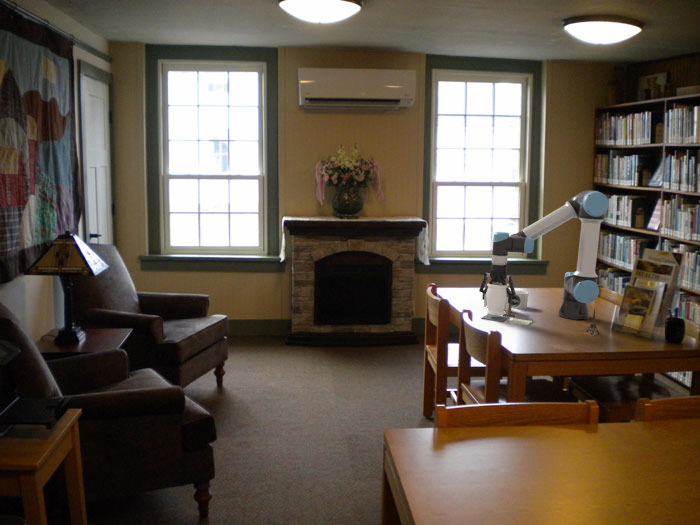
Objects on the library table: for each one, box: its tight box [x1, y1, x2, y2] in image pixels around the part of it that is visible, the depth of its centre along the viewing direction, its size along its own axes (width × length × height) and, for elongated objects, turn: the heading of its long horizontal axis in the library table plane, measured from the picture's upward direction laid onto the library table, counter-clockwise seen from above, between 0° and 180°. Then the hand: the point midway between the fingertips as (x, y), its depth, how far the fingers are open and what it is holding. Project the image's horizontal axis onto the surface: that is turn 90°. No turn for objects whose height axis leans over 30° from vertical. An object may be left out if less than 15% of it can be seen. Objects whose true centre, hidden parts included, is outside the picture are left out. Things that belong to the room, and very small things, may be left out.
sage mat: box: [508, 317, 533, 326], centre depth 345 cm, size 9×9×1 cm
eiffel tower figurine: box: [584, 307, 600, 334], centre depth 328 cm, size 15×10×13 cm
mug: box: [511, 289, 529, 310], centre depth 383 cm, size 13×10×8 cm
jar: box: [486, 282, 510, 316], centre depth 351 cm, size 11×10×15 cm
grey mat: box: [480, 313, 510, 323], centre depth 352 cm, size 11×11×1 cm
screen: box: [502, 288, 516, 318], centre depth 366 cm, size 6×18×12 cm, turn 175°
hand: (496, 307), depth 351 cm, fingers closed on jar, 10 cm apart
